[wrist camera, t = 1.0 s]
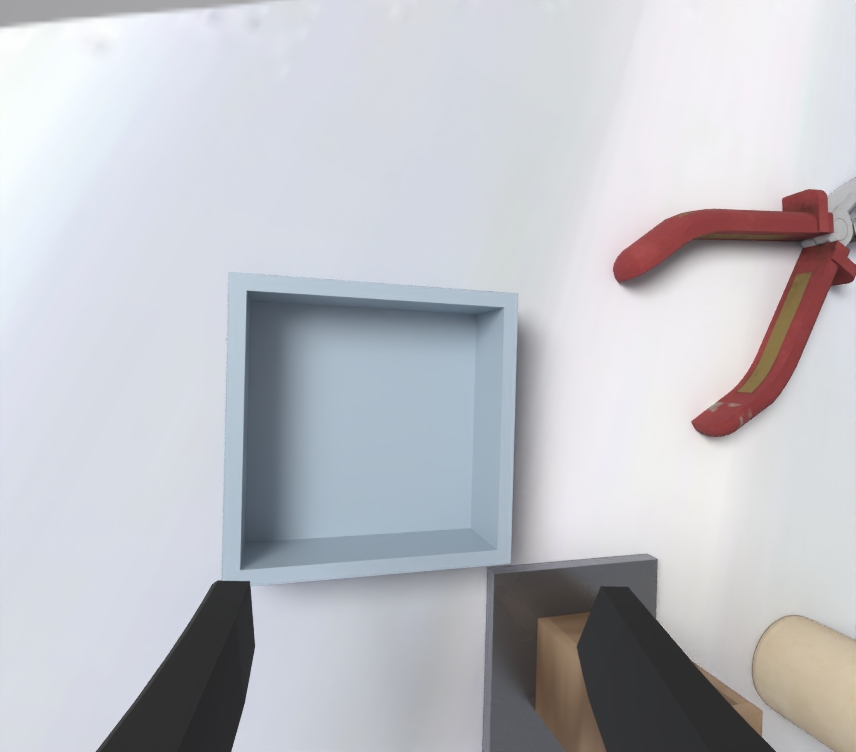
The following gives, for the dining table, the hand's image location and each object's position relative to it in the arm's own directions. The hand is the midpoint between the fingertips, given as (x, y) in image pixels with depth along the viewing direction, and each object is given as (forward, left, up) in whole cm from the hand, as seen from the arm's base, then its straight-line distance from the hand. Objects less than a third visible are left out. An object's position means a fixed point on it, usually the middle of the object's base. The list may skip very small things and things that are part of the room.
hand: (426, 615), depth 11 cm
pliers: (+10, -24, -13) cm, 29 cm away
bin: (+3, -1, -12) cm, 13 cm away
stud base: (-9, -11, -12) cm, 19 cm away
